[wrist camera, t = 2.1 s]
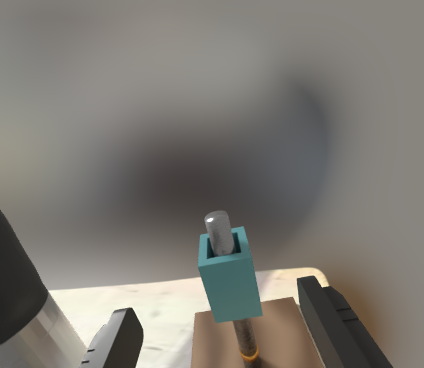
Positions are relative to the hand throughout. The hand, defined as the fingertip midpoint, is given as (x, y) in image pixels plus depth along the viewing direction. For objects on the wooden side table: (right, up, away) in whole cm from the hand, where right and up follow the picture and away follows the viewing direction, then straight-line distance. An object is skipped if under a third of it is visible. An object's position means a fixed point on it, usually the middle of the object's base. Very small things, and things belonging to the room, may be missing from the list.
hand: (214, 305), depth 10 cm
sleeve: (+3, -8, +15) cm, 17 cm away
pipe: (+6, -19, +19) cm, 28 cm away
